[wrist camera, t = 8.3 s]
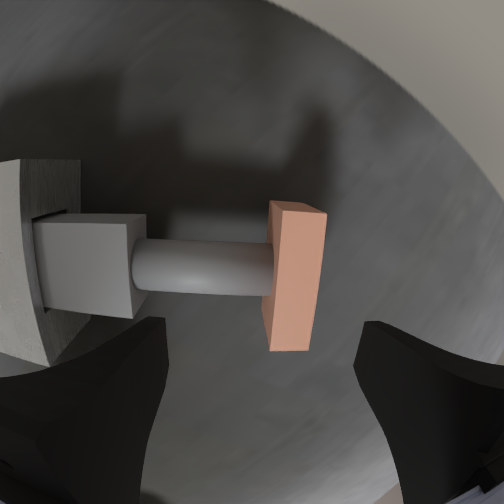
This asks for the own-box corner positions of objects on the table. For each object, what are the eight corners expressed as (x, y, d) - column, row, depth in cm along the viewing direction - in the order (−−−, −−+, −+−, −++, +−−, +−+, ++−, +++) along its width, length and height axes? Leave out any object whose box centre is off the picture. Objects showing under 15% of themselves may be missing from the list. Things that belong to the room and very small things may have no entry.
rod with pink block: (291, 309, 19) (308, 350, 14) (40, 290, 18) (3, 318, 13) (302, 202, 18) (327, 213, 13) (31, 198, 16) (-15, 209, 11)
